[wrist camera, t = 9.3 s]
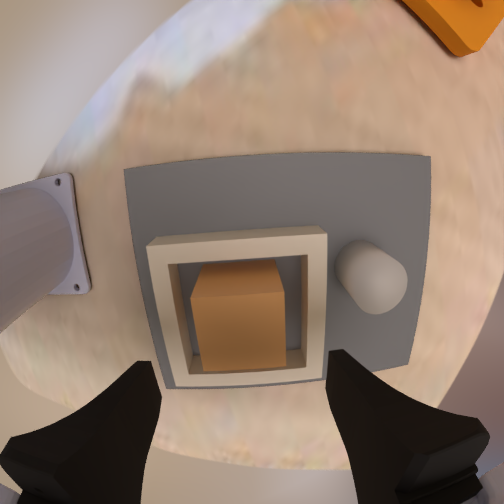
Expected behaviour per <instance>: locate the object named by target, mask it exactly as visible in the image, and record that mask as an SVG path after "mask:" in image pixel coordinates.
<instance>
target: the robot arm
mask: <svg viewBox="0 0 504 504" xmlns="http://www.w3.org/2000/svg"><path fill="white" fill-rule="evenodd" d="M58 179H60V180H61V184H60V185H59V184H58ZM76 284H78V285H79V287H80V289H79V288H78V287H77V286H76ZM90 289H91V284H90V279H89V275H88V271H87V266H86V261H85V257H84V252H83V246H82V241H81V235H80V230H79V224H78V217H77V210H76V203H75V195H74V187H73V179H72V176H71V174H69V173H61V174H57V175H53V176H49V177H45V178H41V179H37V180H33V181H30V182H26V183H22V184H19V185H15V186H12V187H8V188H5V189H2V190H0V333H1V332H2V331H4V330H5V329H6V328H7V327H8V326H9V325H10V324H12V323H13V322H14V321H15V320H16V319H17V318H19V317H20V316H21V315H22V314H23V313H25V312H26V311H27V310H28V309H29V308H31V307H32V306H33V305H34V304H36V303H37V302H38V301H39V300H41V299H42V298H43V297H44V296H46V295H50V294H86V293H88V292H89V291H90ZM325 388H326V393H327V397H328V401H329V405H330V409H331V412H332V414H333V417H334V419H335V422H336V425H337V427H338V430H339V432H340V435H341V438H342V440H343V443H344V445H345V448H346V451H347V454H348V457H349V461H350V466H351V470H352V474H353V479H354V483H355V488H356V493H357V499H358V504H504V462H503V463H502V464H500V465H498V466H497V467H495V468H494V469H492V470H490V471H488V472H487V473H485V474H484V475H483V476H481V477H480V478H479V479H478V478H477V476H476V474H475V473H477V472H478V468H477V466H476V465H475V462H476V461H477V460H478V458H479V457H480V455H481V454H482V453H483V451H484V450H485V448H486V446H487V445H488V442H489V439H490V435H489V433H488V431H487V430H486V429H485V427H484V426H483V425H482V423H481V422H480V421H479V419H478V418H473V417H468V416H462V415H457V414H453V413H449V412H446V411H443V410H439V409H436V408H434V407H431V406H428V405H426V404H423V403H421V402H419V401H416V400H414V399H412V398H410V397H408V396H407V395H405V394H403V393H401V392H399V391H397V390H396V389H394V388H393V387H391V386H390V385H388V384H387V383H385V382H384V381H382V380H381V379H379V378H378V377H377V376H375V375H374V374H373V373H371V372H370V371H369V370H368V369H366V368H365V367H364V366H363V365H361V364H360V363H359V362H358V361H357V360H356V359H354V358H353V357H352V356H351V355H350V354H349V353H347V352H346V351H345V350H344V349H338V350H331V351H329V353H328V365H327V376H326V387H325ZM161 400H162V396H161V392H160V389H159V386H158V383H157V380H156V377H155V373H154V370H153V367H152V363H151V361H137V362H136V363H134V364H133V365H132V366H131V367H130V368H129V369H128V370H127V371H125V372H124V373H123V374H122V375H121V376H120V377H119V378H118V379H117V380H116V381H115V382H113V383H112V384H111V385H110V386H109V387H108V388H107V389H105V390H104V391H103V392H102V393H101V394H99V395H98V396H97V397H96V398H94V399H93V400H92V401H90V402H89V403H88V404H86V405H85V406H83V407H82V408H80V409H79V410H77V411H76V412H74V413H72V414H71V415H69V416H67V417H65V418H63V419H61V420H59V421H57V422H56V423H53V424H51V425H49V426H46V427H44V428H41V429H39V430H36V431H33V432H30V433H26V434H22V435H19V436H15V437H11V438H10V440H9V441H8V443H7V445H6V446H5V448H4V449H3V451H2V452H1V454H0V465H1V466H2V468H3V469H4V471H5V472H6V473H7V474H8V475H9V476H10V477H11V478H12V479H13V480H14V481H15V483H16V484H17V485H18V486H19V487H20V488H21V489H22V490H23V491H22V493H21V495H20V494H18V493H17V492H15V491H14V490H12V489H10V488H8V487H6V486H4V485H2V484H0V504H141V491H142V483H143V475H144V469H145V463H146V459H147V455H148V452H149V449H150V445H151V442H152V439H153V435H154V432H155V429H156V425H157V422H158V418H159V413H160V407H161Z"/></svg>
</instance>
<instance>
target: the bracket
mask: <svg viewBox="0 0 504 504" xmlns="http://www.w3.org/2000/svg"><path fill="white" fill-rule="evenodd" d="M402 1H403V2H404V3H405V4H407V5H408V6H409V7H410V8H411V9H412V10H413V11H414V12H415V13H416V14H417V15H418V16H419V17H420V18H421V19H422V20H423V21H424V22H425V23H426V24H427V25H428V26H429V27H430V29H431V30H432V31H433V32H434V33H435V34H436V35H437V36H438V37H439V38H440V40H441V41H442V42H443V43H444V44H445V45H446V46H447V48H448V49H449V50H450V51H451V52H452V53H453V54H454V55H456V56H458V57H463V56H465V55H468V54H471V53H474V52H477V51H479V50H480V49H481V47H482V46H483V45H484V43H485V42H486V41H487V39H488V38H489V37H490V35H491V34H492V33H493V31H494V30H495V28H496V27H497V26H498V24H499V23H500V21H501V20H502V19H503V17H504V0H402Z"/></svg>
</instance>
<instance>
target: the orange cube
mask: <svg viewBox="0 0 504 504" xmlns="http://www.w3.org/2000/svg"><path fill="white" fill-rule="evenodd" d="M190 299H191V306H192V312H193V317H194V323H195V329H196V334H197V340H198V345H199V351H200V356H201V361H202V366H203V371H227V370H246V369H260V368H272V367H283V366H286V334H285V298H284V289H283V286H282V282H281V279H280V276H279V273H278V269H277V266H276V263H275V260H274V259H268V260H255V261H241V262H228V263H214V264H203V266H202V268H201V271H200V274H199V276H198V279H197V282H196V284H195V287H194V290H193V292H192V295H191V298H190Z"/></svg>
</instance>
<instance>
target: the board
mask: <svg viewBox="0 0 504 504" xmlns="http://www.w3.org/2000/svg"><path fill="white" fill-rule="evenodd" d="M124 176H125V186H126V195H127V204H128V212H129V219H130V226H131V233H132V240H133V246H134V252H135V258H136V264H137V269H138V275H139V280H140V285H141V290H142V295H143V299H144V304H145V309H146V313H147V318H148V322H149V326H150V330H151V334H152V338H153V342H154V346H155V350H156V354H157V358H158V361H159V365H160V369H161V372H162V376H163V379H164V383H165V386H166V389H225V388H247V387H262V386H275V385H286V384H295V383H304V382H313V381H320V380H326V376H327V365H328V353H329V351H331V350H338V349H344V350H345V351H346V352H347V353H349V354H350V355H351V356H352V357H353V358H354V359H356V360H357V361H358V362H359V363H360V364H361V365H363V366H364V367H365V368H366V369H368V370H369V371H370V372H375V371H380V370H385V369H390V368H395V367H399V366H403V365H408V362H409V358H410V354H411V350H412V345H413V341H414V336H415V331H416V326H417V321H418V316H419V310H420V304H421V298H422V292H423V285H424V278H425V270H426V261H427V251H428V240H429V226H430V205H431V156H420V155H404V154H384V153H283V154H262V155H246V156H232V157H220V158H209V159H199V160H189V161H180V162H172V163H164V164H157V165H149V166H143V167H136V168H129V169H124ZM268 259H274V260H275V263H276V266H277V269H278V273H279V276H280V279H281V282H282V286H283V289H284V298H285V334H286V366H283V367H272V368H260V369H246V370H227V371H203V366H202V361H201V356H200V351H199V345H198V340H197V334H196V329H195V323H194V317H193V312H192V306H191V299H190V298H191V295H192V292H193V290H194V287H195V284H196V282H197V279H198V276H199V274H200V271H201V268H202V266H203V264H214V263H228V262H241V261H255V260H268Z"/></svg>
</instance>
